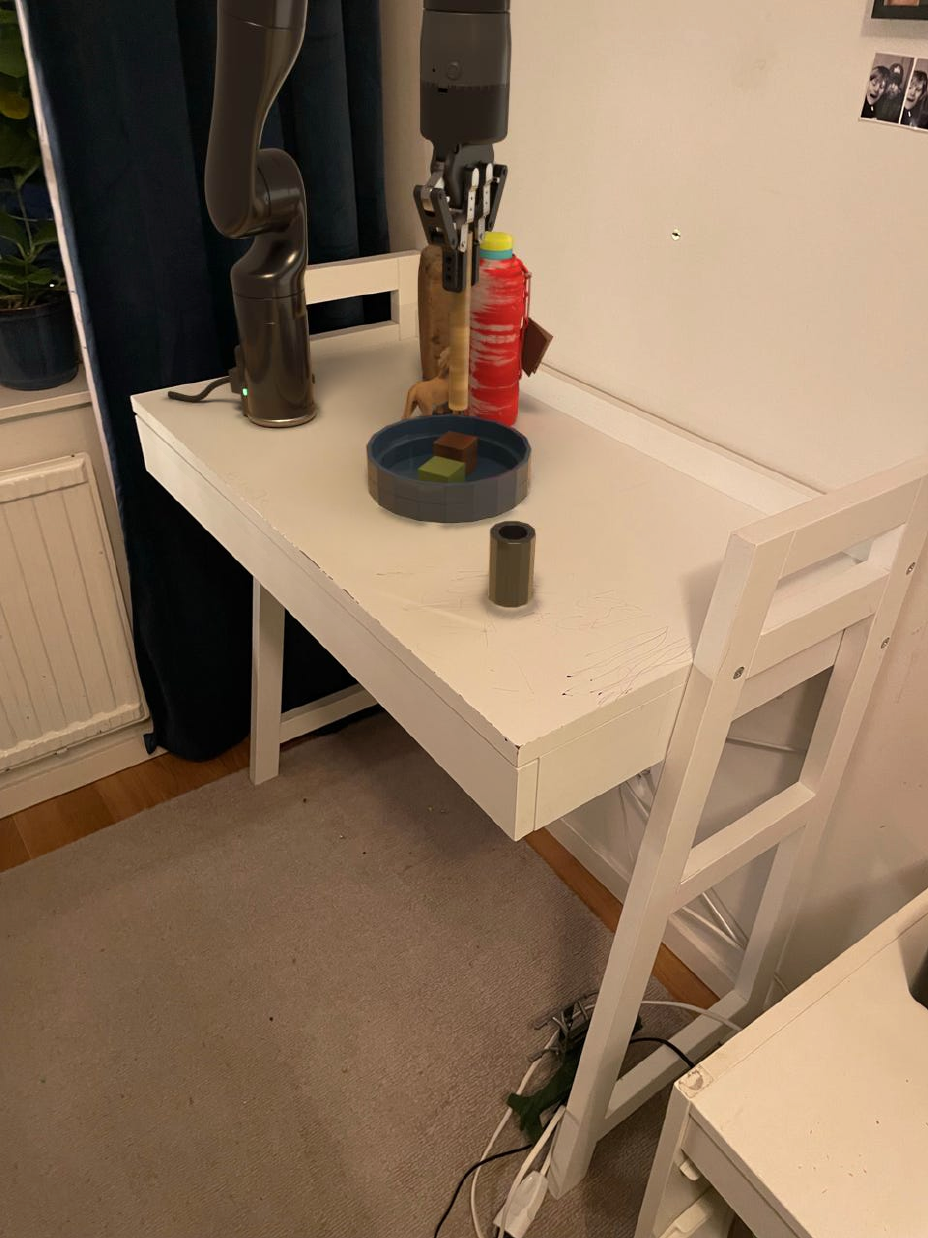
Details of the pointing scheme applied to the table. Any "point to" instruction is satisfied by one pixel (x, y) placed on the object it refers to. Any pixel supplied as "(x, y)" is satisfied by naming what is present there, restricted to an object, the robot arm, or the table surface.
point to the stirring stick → (460, 339)
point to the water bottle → (501, 332)
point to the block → (432, 311)
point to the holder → (511, 563)
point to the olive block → (442, 471)
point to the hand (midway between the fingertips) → (460, 286)
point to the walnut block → (458, 449)
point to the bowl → (477, 498)
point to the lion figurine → (431, 391)
